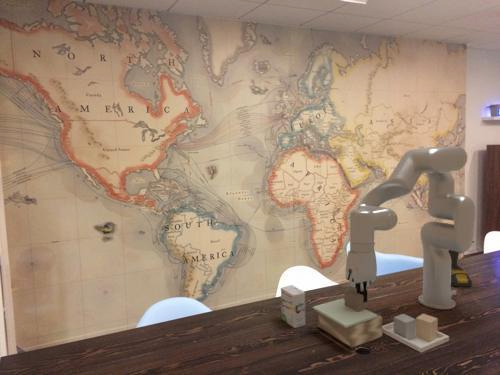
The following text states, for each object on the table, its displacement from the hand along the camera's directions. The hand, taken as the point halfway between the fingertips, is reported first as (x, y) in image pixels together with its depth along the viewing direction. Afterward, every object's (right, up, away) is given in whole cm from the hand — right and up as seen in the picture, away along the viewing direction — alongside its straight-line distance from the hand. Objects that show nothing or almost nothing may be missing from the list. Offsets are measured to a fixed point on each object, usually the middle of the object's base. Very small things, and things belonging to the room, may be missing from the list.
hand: (361, 300), depth 117 cm
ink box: (-22, -10, +7) cm, 25 cm away
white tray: (+14, -10, -6) cm, 18 cm away
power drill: (+55, -5, +38) cm, 67 cm away
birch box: (-5, -10, -2) cm, 11 cm away
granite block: (+11, -9, -6) cm, 16 cm away
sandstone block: (+18, -9, -7) cm, 21 cm away
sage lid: (-7, -3, -4) cm, 8 cm away
